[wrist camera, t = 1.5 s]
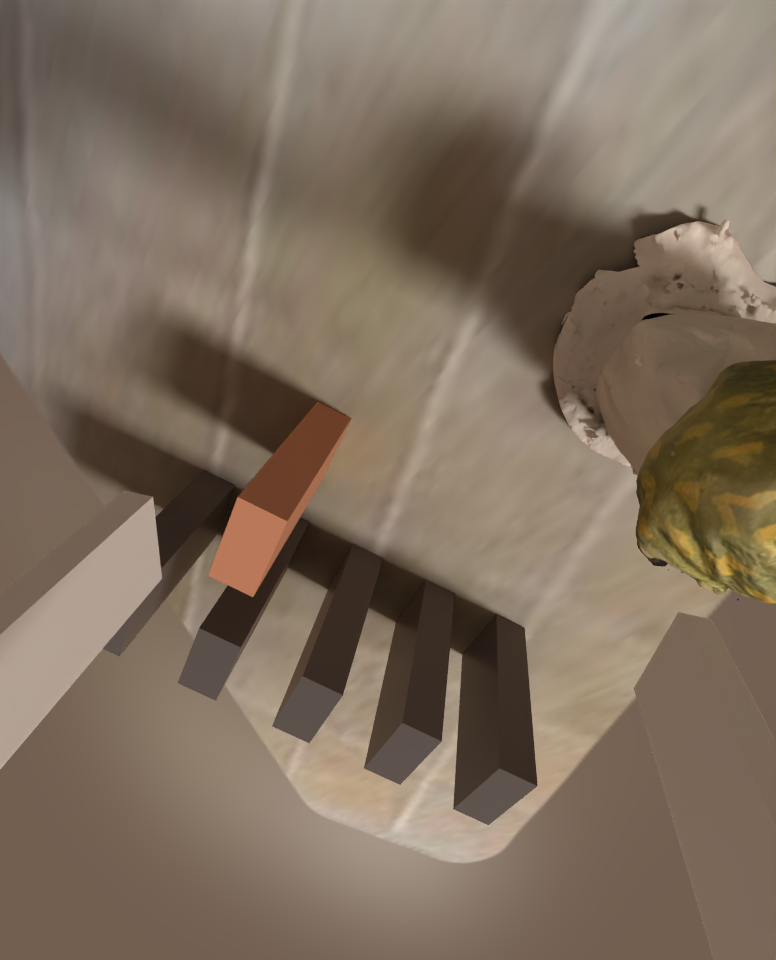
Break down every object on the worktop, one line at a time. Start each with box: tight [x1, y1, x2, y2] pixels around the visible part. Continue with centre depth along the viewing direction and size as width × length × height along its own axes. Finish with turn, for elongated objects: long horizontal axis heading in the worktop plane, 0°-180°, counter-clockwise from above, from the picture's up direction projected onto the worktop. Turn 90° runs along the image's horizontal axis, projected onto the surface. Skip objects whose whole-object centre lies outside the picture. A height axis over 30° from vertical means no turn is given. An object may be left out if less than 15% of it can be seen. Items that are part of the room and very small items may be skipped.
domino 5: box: [364, 580, 455, 784], centre depth 34 cm, size 2×5×12 cm, turn 155°
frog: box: [553, 220, 776, 605], centre depth 20 cm, size 12×13×18 cm
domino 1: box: [103, 470, 235, 656], centre depth 33 cm, size 2×5×12 cm, turn 155°
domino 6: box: [453, 615, 537, 825], centre depth 35 cm, size 2×5×12 cm, turn 155°
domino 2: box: [208, 401, 351, 597], centre depth 29 cm, size 2×5×12 cm, turn 155°
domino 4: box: [273, 544, 383, 743], centre depth 34 cm, size 2×5×12 cm, turn 155°
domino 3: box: [178, 518, 310, 700], centre depth 33 cm, size 2×5×12 cm, turn 155°
